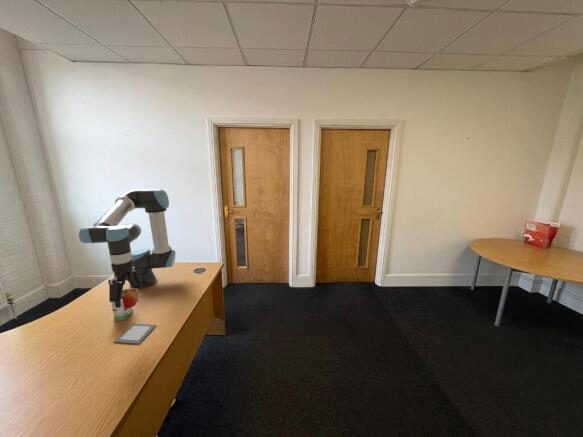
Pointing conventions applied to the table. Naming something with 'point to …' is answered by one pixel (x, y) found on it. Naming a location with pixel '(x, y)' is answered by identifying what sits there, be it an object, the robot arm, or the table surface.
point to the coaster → (135, 334)
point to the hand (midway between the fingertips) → (129, 306)
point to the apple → (129, 298)
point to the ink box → (120, 315)
